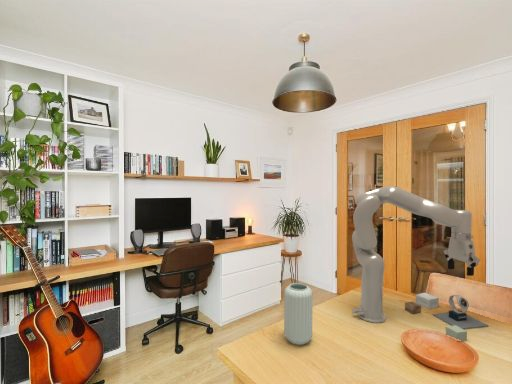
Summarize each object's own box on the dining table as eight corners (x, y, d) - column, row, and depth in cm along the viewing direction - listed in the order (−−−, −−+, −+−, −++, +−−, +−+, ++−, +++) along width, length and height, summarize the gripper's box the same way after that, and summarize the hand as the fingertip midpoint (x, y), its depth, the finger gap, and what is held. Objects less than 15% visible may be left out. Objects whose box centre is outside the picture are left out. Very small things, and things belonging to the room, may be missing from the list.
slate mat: (459, 329, 119) (459, 328, 119) (432, 315, 133) (432, 313, 133) (488, 326, 122) (488, 325, 122) (459, 312, 136) (459, 311, 136)
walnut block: (412, 314, 134) (412, 306, 134) (404, 309, 139) (405, 302, 139) (420, 313, 135) (421, 305, 135) (413, 309, 140) (413, 301, 140)
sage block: (456, 342, 110) (456, 332, 110) (445, 335, 115) (446, 326, 115) (466, 340, 111) (466, 331, 111) (455, 334, 116) (455, 325, 116)
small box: (439, 307, 142) (439, 297, 142) (429, 309, 139) (429, 299, 139) (424, 301, 150) (425, 292, 149) (415, 303, 147) (415, 294, 146)
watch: (461, 323, 124) (461, 299, 124) (445, 315, 132) (445, 293, 131) (470, 322, 125) (471, 298, 125) (454, 314, 133) (454, 292, 133)
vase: (295, 329, 120) (295, 279, 119) (317, 339, 111) (318, 286, 111) (278, 339, 112) (278, 286, 111) (301, 351, 103) (301, 294, 103)
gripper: (486, 239, 119) (485, 277, 119) (451, 232, 136) (450, 266, 136) (472, 240, 118) (471, 278, 118) (438, 233, 135) (437, 267, 135)
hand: (460, 272), depth 127 cm, fingers open, 9 cm apart
